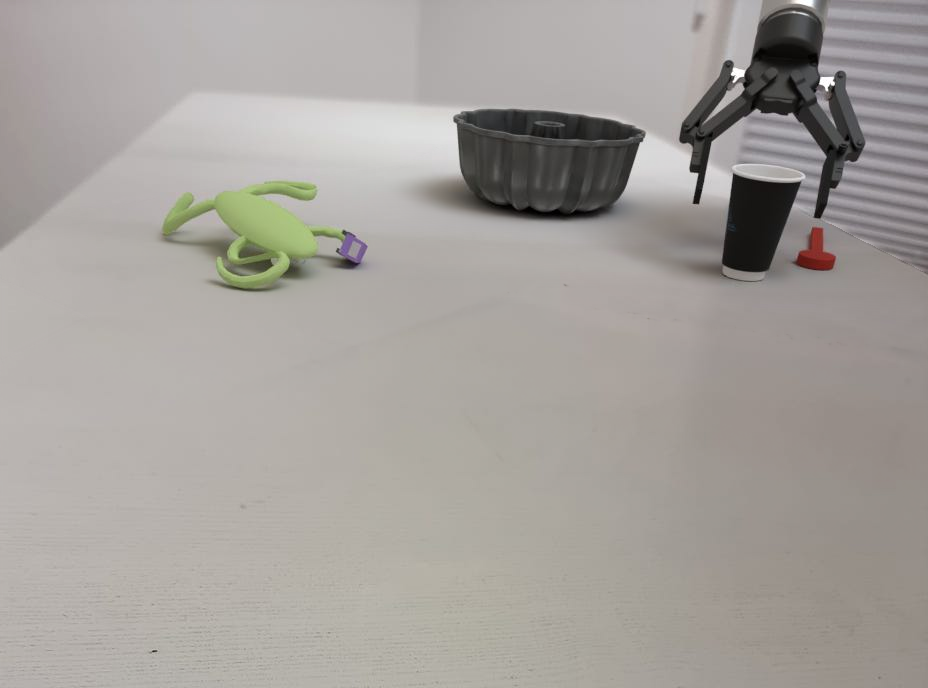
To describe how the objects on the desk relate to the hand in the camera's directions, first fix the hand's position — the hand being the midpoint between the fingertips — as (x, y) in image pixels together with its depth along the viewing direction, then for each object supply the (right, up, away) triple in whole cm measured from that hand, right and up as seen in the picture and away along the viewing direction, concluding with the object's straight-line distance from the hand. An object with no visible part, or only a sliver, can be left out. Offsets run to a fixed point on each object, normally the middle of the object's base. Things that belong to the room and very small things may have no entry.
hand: (758, 204), depth 103 cm
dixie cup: (-1, -7, +4) cm, 8 cm away
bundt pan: (-22, +13, +28) cm, 38 cm away
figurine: (-56, -5, 0) cm, 56 cm away
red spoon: (+12, +1, +14) cm, 18 cm away
